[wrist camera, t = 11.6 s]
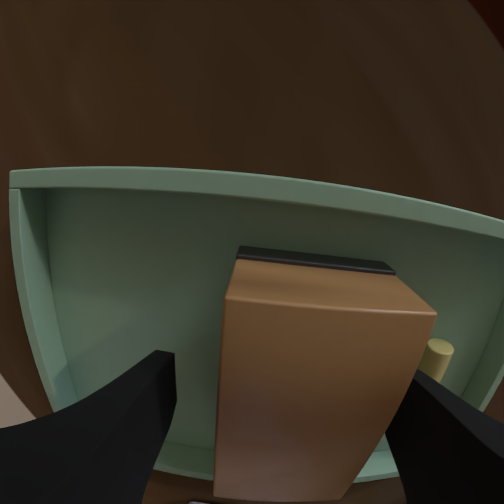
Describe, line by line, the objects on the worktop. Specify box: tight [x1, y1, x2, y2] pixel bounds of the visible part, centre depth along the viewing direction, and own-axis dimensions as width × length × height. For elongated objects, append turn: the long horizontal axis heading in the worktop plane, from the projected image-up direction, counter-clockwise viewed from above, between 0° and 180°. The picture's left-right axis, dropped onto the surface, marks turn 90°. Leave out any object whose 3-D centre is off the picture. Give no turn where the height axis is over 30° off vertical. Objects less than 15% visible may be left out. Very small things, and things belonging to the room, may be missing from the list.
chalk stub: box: [417, 338, 454, 383], centre depth 9 cm, size 3×1×1 cm
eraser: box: [213, 246, 437, 502], centre depth 8 cm, size 8×4×4 cm, turn 174°
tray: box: [9, 167, 504, 483], centre depth 9 cm, size 12×19×2 cm, turn 84°
